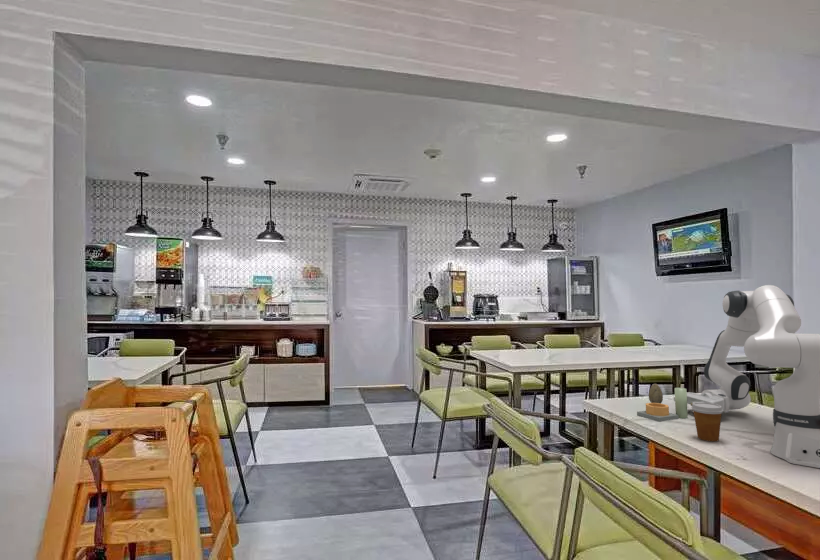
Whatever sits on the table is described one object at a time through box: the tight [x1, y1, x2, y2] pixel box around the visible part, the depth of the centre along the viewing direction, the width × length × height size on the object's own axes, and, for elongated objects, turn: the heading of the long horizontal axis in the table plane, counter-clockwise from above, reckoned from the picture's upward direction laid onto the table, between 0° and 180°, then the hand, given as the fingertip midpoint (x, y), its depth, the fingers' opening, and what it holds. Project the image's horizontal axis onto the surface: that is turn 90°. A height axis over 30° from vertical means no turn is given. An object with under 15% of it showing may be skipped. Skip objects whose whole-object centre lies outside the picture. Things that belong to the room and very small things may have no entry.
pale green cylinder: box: [674, 387, 689, 419], centre depth 190 cm, size 4×4×12 cm
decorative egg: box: [648, 383, 664, 404], centre depth 211 cm, size 6×6×10 cm
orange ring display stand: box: [636, 402, 680, 422], centre depth 190 cm, size 11×11×5 cm
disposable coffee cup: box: [691, 402, 724, 442], centre depth 160 cm, size 10×10×12 cm
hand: (683, 401), depth 190 cm, fingers open, 8 cm apart
